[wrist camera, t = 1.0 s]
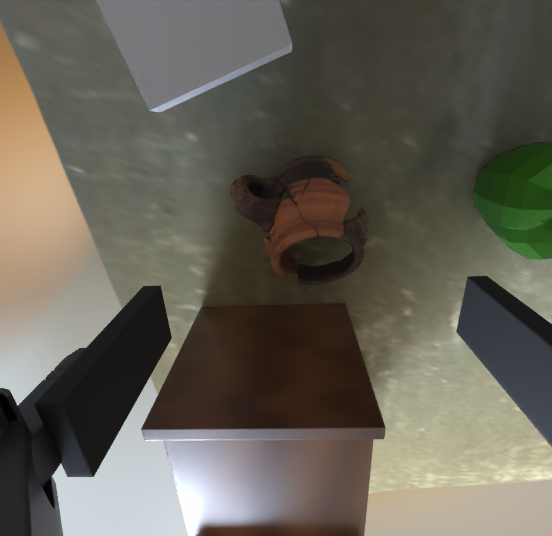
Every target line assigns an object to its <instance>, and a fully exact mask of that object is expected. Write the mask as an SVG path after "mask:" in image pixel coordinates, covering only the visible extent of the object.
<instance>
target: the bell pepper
mask: <svg viewBox="0 0 552 536" xmlns="http://www.w3.org/2000/svg"><path fill="white" fill-rule="evenodd" d="M473 193H474V206H475V208H476V209H477V210H478V212H479V213H480V214H481V215H482V218H483V219H484V220H485V222H486V223H487V225H488V226H489V227H490V228H491V229H492V230H493V231H494V232H495V233H496V235H497V236H498V237H499V238H500V239H501V240H502V241H503V242H504V243H505V244H506V245H507V246H508V247H509V248H510V249H511V250H513V251H515V252H517V253H518V254H520V255H522V256H524V257H525V258H527V259H549V258H552V142H537V143H533V144H529V145H526V146H522V147H519V148H517V149H514V150H511V151H509V152H506V153H504V154H501V155H498V156H497V157H496V158H495V159H493V160H492V161H491V162H490V163H489V164H488V165H487V166H486V167H485V168H484V169H483V170H482V171H480V174H479V176H478V179H477V182H476V185H475V188H474V191H473Z"/></svg>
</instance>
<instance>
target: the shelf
mask: <svg viewBox="0 0 552 536" xmlns="http://www.w3.org/2000/svg"><path fill="white" fill-rule="evenodd" d="M141 430H142V434H143V437H144V440H163V441H164V445H165V448H166V451H167V456H168V460H169V463H170V466H171V471H172V474H173V478H174V481H175V486H176V489H177V493H178V497H179V500H180V504H181V508H182V512H183V516H184V519H185V523H186V527H187V530H188V534H189V536H364V533H365V522H366V512H367V501H368V491H369V480H370V470H371V459H372V449H373V439H384V437H385V425H384V421H383V418H382V415H381V412H380V409H379V406H378V403H377V400H376V397H375V394H374V391H373V388H372V385H371V382H370V378H369V375H368V372H367V369H366V366H365V363H364V360H363V357H362V354H361V351H360V348H359V345H358V342H357V339H356V335H355V332H354V329H353V326H352V323H351V320H350V317H349V314H348V311H347V308H346V305H345V303H344V304H307V305H270V306H233V307H201V309H200V311H199V313H198V315H197V317H196V319H195V321H194V323H193V325H192V327H191V329H190V331H189V333H188V335H187V337H186V339H185V341H184V343H183V345H182V347H181V349H180V351H179V353H178V356H177V358H176V360H175V362H174V364H173V366H172V368H171V370H170V372H169V374H168V376H167V378H166V380H165V382H164V384H163V386H162V388H161V390H160V392H159V394H158V396H157V398H156V400H155V402H154V404H153V406H152V408H151V411H150V413H149V414H148V416H147V418H146V421H145V423H144V425H143V427H142V429H141Z"/></svg>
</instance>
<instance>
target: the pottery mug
mask: <svg viewBox="0 0 552 536" xmlns="http://www.w3.org/2000/svg"><path fill="white" fill-rule="evenodd" d="M337 177H339V178H341V179H342V180H343V181H345V182H349V181H350V176H349V174H348V173H347V172H346V171H345V170H344V168H343V166H342V165H340V164H339V163H338V162H336V161H334V160H331V159H328V158H324V157H320V156H308V157H303V158H298V159H295V160H293V161H292V162H290V163H288V164H287V165H285V166H284V167H283V168H282V169H281V170H280V172H279V173H278V175H277V176H276V178H275V177H271V178H265V177H259V176H255V175H245V176H242V177H241V178H239V179H237V180H235V181H234V183H233V184H232V185H231V186H230V188H229V193H230V197H231V204H232V206H233V208H234V209H235V211H236V212H237V213H238V214H239V215H241V216H242V217H244V218H245V219H248V220H250V221H252V222H254V223H256V224H257V226H258V228H259V229H260V230H261V231H262V232H264V233H266V232H269V231H270V230H271V238H270V237H265V247H266V251H267V253H268V255H269V257H270V263H271V267H272V269H273V270H274V272H275V273H276V274H277V275H279V276H280V277H282V278H285V277H287V276H288V275H289V272H290V273H295V274H298V282H299V283H300V284H303V285H317V284H324V283H329V282H332V281H335V280H337V279H340V278H343V277H345V276H347V275H348V274H350V273H352V272H353V271H354V270H355V269H356V268H357V267H358V266H359V265H360V263H361V262H362V259H363V253H364V249H363V247H364V245H365V241H366V238H365V236H366V233H367V223H368V216H367V214H366V212H365V210H364V209H363V208H361V209H360V210H359V212H358V215H357V216H355V217H354V218H352V219H350V220H346V221H344V218H345V216H346V214H347V210H348V208H349V204H350V202H351V198H350V197H349V193H348V192H347V190H346V189H344V188H342V187H340V186H339V181H338V178H337ZM285 190H287V191H288V193H289V194H290V196H291V197H289V198H284V199H282V200H281V197H282V195H283V193H284V192H285ZM317 236H320V237H333V238H338V239H342V240H344V241H345V242H347V243H348V244H350V245H351V247H352V249H353V252H352V253H350V254H349V255H347V256H346V257H344V258H343V259H342V260H340V261H339V262H338V261H335V262H332V263H329V264H326V265H322V266H309V265H303V264H298V263H297V262H296V260H295V258H294V257H293V255H292V254H291V253H288V252H283V251H284V250H285V249H286V248H288V247H289V246H291V245H292V244H294V243H296V242H298V241H301V240H304V239H307V238H312V237H317Z"/></svg>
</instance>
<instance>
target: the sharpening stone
mask: <svg viewBox="0 0 552 536" xmlns="http://www.w3.org/2000/svg"><path fill="white" fill-rule="evenodd" d="M96 1H97V3H98V5H99V7H100V9H101V11H102V14H103V16H104V18H105V20H106V22H107V24H108V26H109V28H110V30H111V32H112V34H113V36H114V38H115V41H116V43H117V45H118V47H119V49H120V51H121V53H122V55H123V57H124V59H125V61H126V63H127V65H128V67H129V70H130V72H131V74H132V76H133V78H134V80H135V82H136V84H137V86H138V88H139V90H140V92H141V94H142V96H143V99H144V101H145V103H146V105H147V107H148V109H149V111H155V112H162V111H164V110H166V109H168V108H170V107H173V106H175V105H177V104H179V103H181V102H183V101H186V100H188V99H190V98H192V97H194V96H197V95H199V94H201V93H203V92H205V91H207V90H210V89H212V88H214V87H216V86H218V85H220V84H223V83H225V82H227V81H229V80H231V79H233V78H236V77H238V76H240V75H242V74H244V73H246V72H249V71H251V70H253V69H255V68H257V67H259V66H262V65H264V64H266V63H268V62H270V61H272V60H275V59H277V58H279V57H281V56H283V55H285V54H288V53H290V52H292V45H293V44H292V41H291V37H290V34H289V31H288V28H287V24H286V21H285V18H284V15H283V11H282V8H281V5H280V2H279V0H96Z"/></svg>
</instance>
